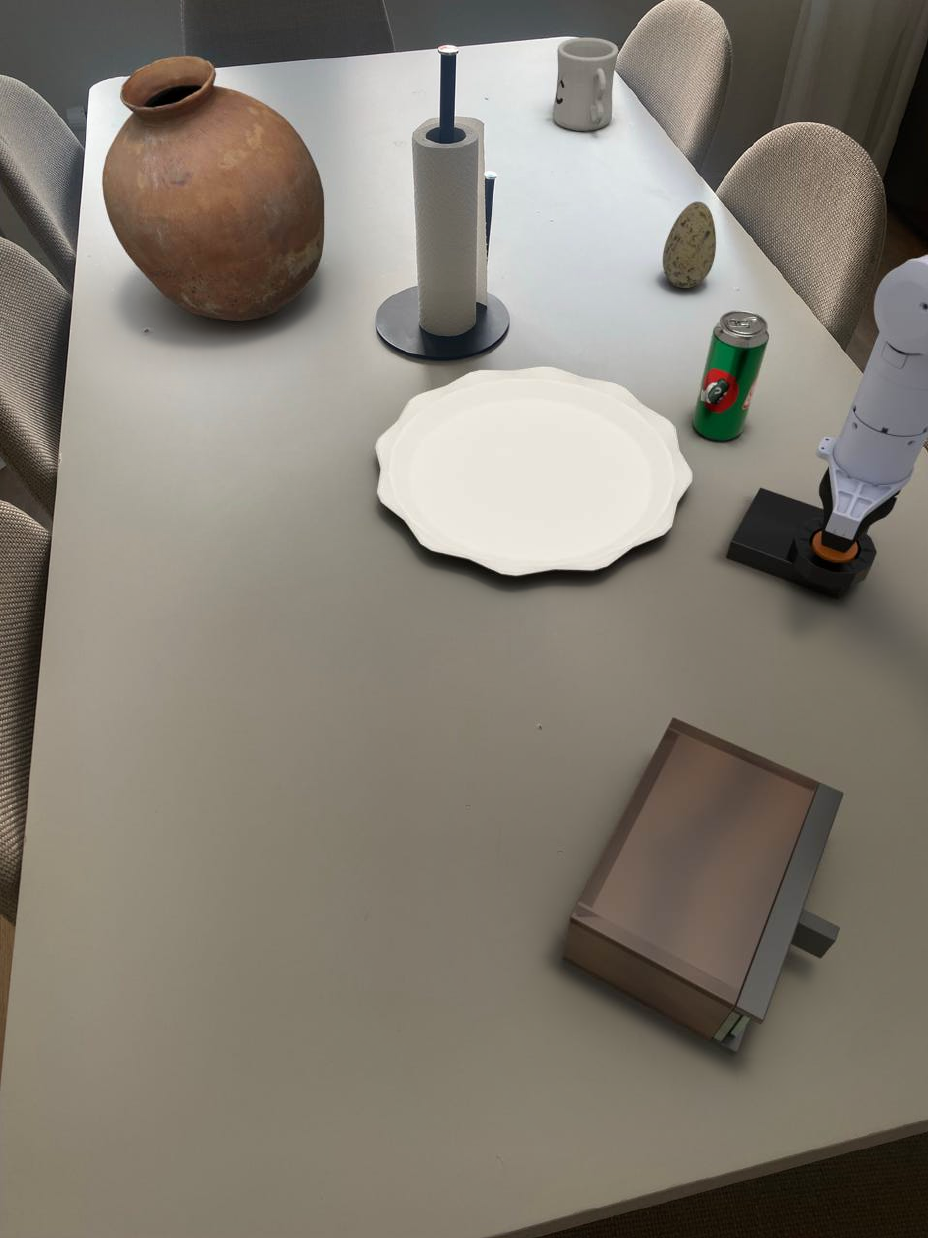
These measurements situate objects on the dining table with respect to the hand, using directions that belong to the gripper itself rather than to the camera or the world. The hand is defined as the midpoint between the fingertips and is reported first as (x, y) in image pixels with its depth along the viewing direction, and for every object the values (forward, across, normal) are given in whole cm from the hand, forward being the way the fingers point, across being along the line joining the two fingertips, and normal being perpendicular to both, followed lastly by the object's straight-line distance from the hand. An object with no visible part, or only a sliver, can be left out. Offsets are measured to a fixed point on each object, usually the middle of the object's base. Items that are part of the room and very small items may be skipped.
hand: (835, 544), depth 76 cm
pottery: (+4, -10, -73) cm, 74 cm away
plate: (+4, +1, -28) cm, 28 cm away
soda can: (+4, -15, -15) cm, 22 cm away
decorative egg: (+4, -39, -28) cm, 48 cm away
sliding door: (+3, +36, +7) cm, 37 cm away
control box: (+4, -2, -3) cm, 5 cm away
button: (+2, 0, 0) cm, 2 cm away
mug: (+4, -75, -58) cm, 95 cm away
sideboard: (+4, +33, 0) cm, 33 cm away
